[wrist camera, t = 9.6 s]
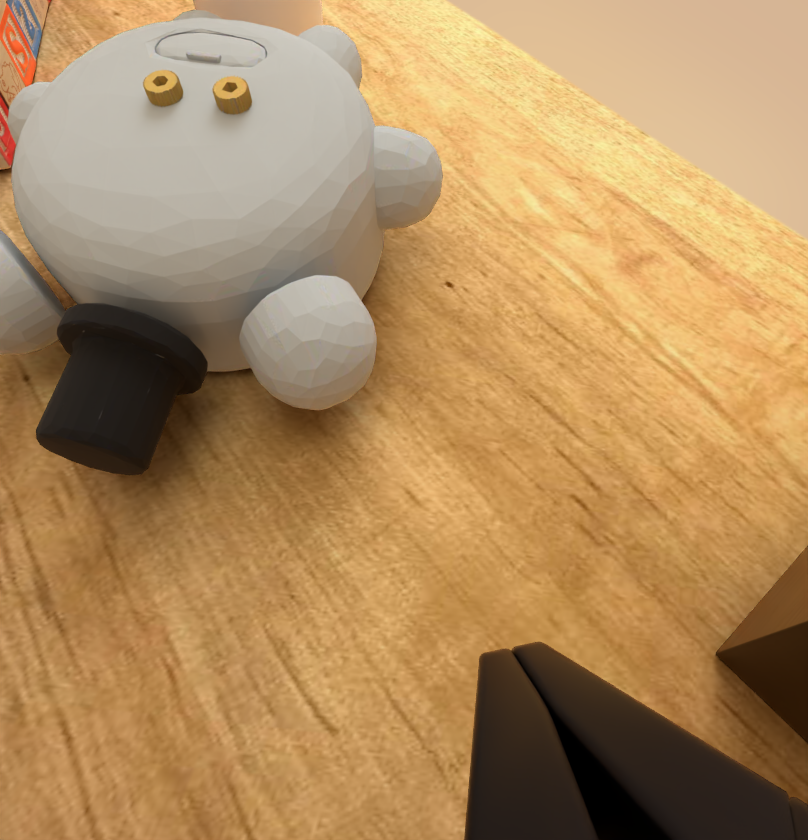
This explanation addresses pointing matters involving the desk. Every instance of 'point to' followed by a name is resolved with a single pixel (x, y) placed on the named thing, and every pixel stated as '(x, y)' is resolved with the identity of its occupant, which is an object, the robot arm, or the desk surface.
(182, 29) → the figurine
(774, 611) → the button box
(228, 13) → the mug
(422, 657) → the desk surface
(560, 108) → the desk surface
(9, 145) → the stack of blocks
